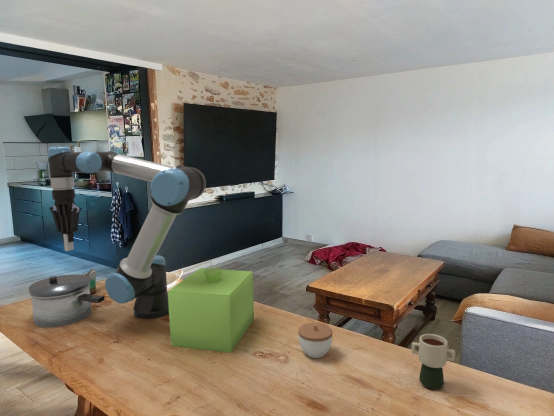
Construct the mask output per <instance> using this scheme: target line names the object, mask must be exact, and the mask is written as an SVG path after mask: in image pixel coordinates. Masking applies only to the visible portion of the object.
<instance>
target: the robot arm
mask: <svg viewBox="0 0 554 416" xmlns="http://www.w3.org/2000/svg"><path fill="white" fill-rule="evenodd" d="M47 161H48V169H49V176H50V178H49V179H50V188H51V189H52V190H51V197H52V200H54V203H53V204H54V205H53V206H50V207H49V210H50V213H51V215H52V217H53V221H54V225H55V229H56V231H57V233H60V234H62V235H61V236H62V241H63V246H64V252H69V251H74V248H75V247H74V241H75V239H74V233H76V232H78V231H79V230H78V229H79V220H80V219H79V218H80V213H81V211H82V208H81V207H80V206H79V207H78V206H77V205H76V202H75V201H74V200H75V199H76V190H75V188H74V187H75V183H74V173H75V174H76V173H77V174H78V173H79V174H80V173H81V174H84V173H85V174H92V173H97V172H98V173H99V172H109V173H112V174H113V173H114V174H118V175H123V176H126V177H130V178H133V179H138V180H142V181H146V182H150V191H151V193H150V194H151V196H150V201H151V203H152V206H151V208H150V209H149V212H148V213H147V216H146V218H145V220H144V221H143V224H142V226H141V228H140V231H139V233H138V235H137V237H136V239H135V241H134V243H133V245H132V247H131V250H130V251H129V253H128V255H127V257H124V258H123V259H121V260H120V261H119V262H120V263H119V264H118V266H117V269H116V271H115V272H112V273H110V274H109V275H108V276H107V277H106V279H105V281H104V287H105V288H104V289H105V291H106V293H107V295H108V297H109V298H110V299H111V300H112V301H114V302H115V303H118V304H128V303H129V302H132V301H134V300H135V302H134V305H133V316H134V317H136V318H138V319H142V320H151V319H157V318H161V317H165V316H167V315H169V303H168V285H167V284H168V283H167V282H168V281H167V263H166V259H165V257H163V256H162V255H159V254H158V252H159V251H160V248H161V246H162V244H163V242H164V240H165V239H166V236H167V235H168V232H169V230H170V229H171V226H172V225H173V223H174V221H175V219H176V217H177V216H178V215H182V214H183V212H184V211H185V209H186V207H187V205H188V203H189V201H192V200H196V199H197V198H199V197H201V196H202V195H203V193H204V192H205V189H206V186H207V182H206V177H205V174H204V173H202V171H201V170H199V169H198V168H196V167H191V166H183V165H176V166H171V165H167V164H162V163H158V162H154V161H149V160H145V159H141V158H137V157H133V156H128V155H124V154H120V153H119V152H118V151H111V150H108V151H76V152H75V151H74V152H73V151H71V147H69V146H51V147H49V148H48V149H47ZM157 254H158V255H157Z"/></svg>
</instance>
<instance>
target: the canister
mask: <svg viewBox="0 0 554 416" xmlns="http://www.w3.org/2000/svg"><path fill="white" fill-rule="evenodd" d="M167 292H168V303H169V314H168V318H169V332H170V333H169V334H170V346H171V347H177V348H178V347H179V348H187V349H195V350H203V351H211V352H212V351H213V352H221V353H229V354H230V353H232V352H233V351H234V350H235V348H236V346H237V345H238V344H239V342H240V341H241V339H242V338H243V336H244V335H245V333H246V332H247V331H248V329H249V327H251V324H252V323H253V322H254V320H255V308H254V305H255V303H254V272H253V271H252V270H249V271H248V270H237V269H236V270H235V269H221V268H219V267H212V268H203V267H200V268H199V269H197V270H196V271H194V272H193V273H191V274H190V275H189V276H187V277H185V278H184V279H182V280H181V281H180V282H179V283H177V284H176V285H174V286H172V288H170V289H169V290H167Z"/></svg>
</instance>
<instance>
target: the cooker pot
mask: <svg viewBox="0 0 554 416" xmlns="http://www.w3.org/2000/svg"><path fill="white" fill-rule="evenodd" d="M89 286H90V284H89V285H88V286H87V287H85V288H83V289H81V290H79V291H76V292H73V293H69V294H64V295H59V296H49V297H39V296H33V295H31V294H30V293H29V296H30V299H31V307H32V317H33V323H34V325H36V326H37V327H40V328H58V327H63V326H68V325H71V324H75V323H77V322H79V321H80V322H81V321H82V320H84V319H86V318H87V317H89V316H90V315H91V314H92V303H95V304H100V303H102V302H104V301H105V296H104V295H97V294H94V295H91V294H90V290H89Z"/></svg>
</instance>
